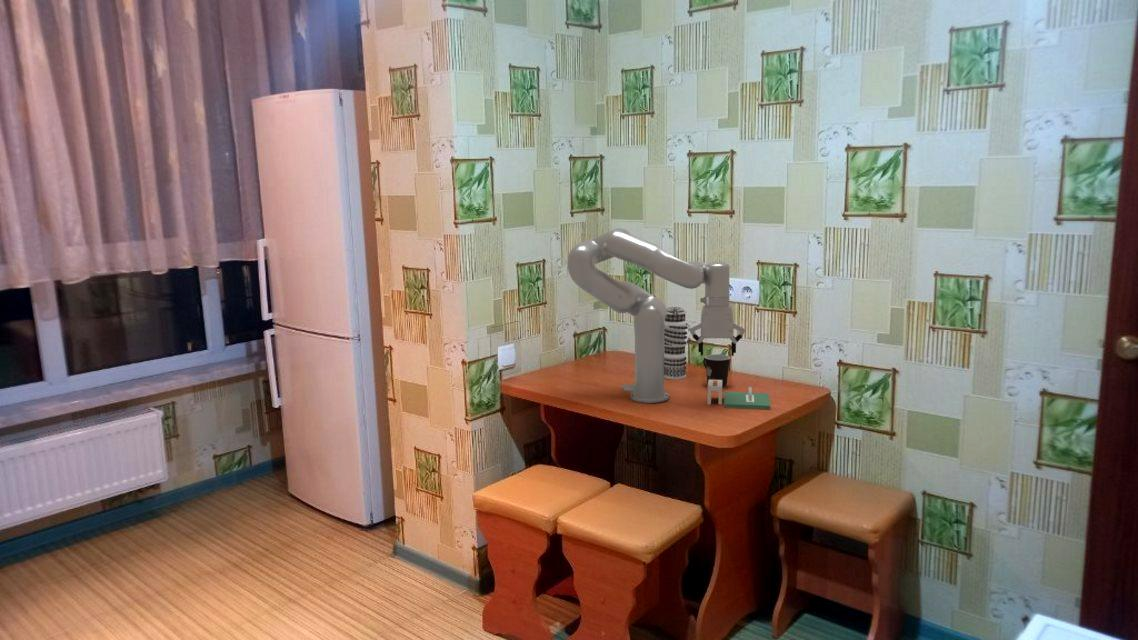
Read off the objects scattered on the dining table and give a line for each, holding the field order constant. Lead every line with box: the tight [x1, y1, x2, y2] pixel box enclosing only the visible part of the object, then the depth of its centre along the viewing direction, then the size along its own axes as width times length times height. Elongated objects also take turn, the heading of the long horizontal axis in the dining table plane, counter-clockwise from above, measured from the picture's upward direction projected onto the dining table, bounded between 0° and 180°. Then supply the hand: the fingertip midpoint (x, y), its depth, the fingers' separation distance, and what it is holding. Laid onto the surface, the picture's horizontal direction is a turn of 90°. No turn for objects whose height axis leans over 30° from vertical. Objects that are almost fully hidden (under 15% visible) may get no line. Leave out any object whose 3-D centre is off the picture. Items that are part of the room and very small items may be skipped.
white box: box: [707, 380, 723, 406], centre depth 252 cm, size 4×8×6 cm, turn 168°
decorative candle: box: [664, 306, 689, 380], centre depth 281 cm, size 9×9×25 cm
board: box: [723, 386, 771, 411], centre depth 250 cm, size 14×14×4 cm
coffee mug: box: [702, 353, 731, 389], centre depth 271 cm, size 12×9×10 cm
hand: (717, 354), depth 250 cm, fingers open, 9 cm apart
